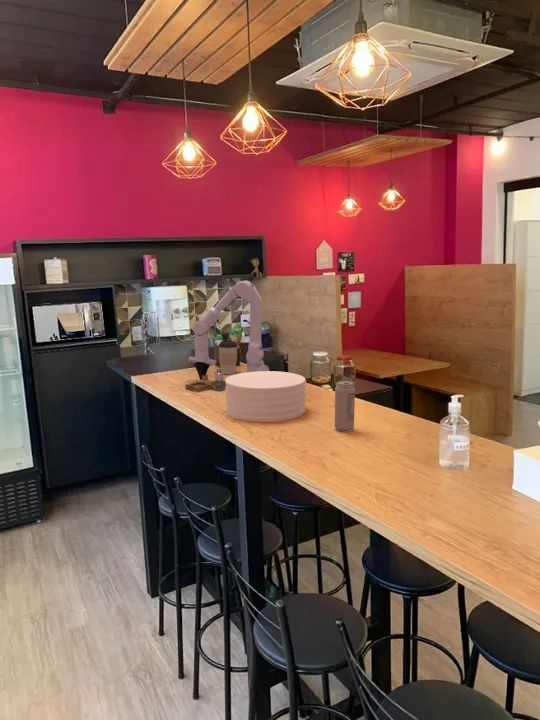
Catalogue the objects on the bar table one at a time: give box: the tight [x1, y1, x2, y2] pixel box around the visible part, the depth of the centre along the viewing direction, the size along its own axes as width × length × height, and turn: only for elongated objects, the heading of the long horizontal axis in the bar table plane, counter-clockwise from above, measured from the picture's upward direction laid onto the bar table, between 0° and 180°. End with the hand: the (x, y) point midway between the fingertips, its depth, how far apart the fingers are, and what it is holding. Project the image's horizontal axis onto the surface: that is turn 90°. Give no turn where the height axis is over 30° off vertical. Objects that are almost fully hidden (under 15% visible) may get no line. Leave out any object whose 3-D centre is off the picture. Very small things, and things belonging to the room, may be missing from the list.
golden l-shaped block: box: [201, 374, 215, 386], centre depth 238 cm, size 6×2×4 cm, turn 47°
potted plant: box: [213, 331, 241, 368], centre depth 277 cm, size 16×11×18 cm
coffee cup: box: [217, 340, 239, 375], centre depth 260 cm, size 9×9×15 cm
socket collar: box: [210, 380, 226, 392], centre depth 234 cm, size 12×12×1 cm
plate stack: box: [224, 370, 306, 423], centre depth 196 cm, size 28×28×12 cm
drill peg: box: [214, 368, 224, 387], centre depth 233 cm, size 3×3×8 cm
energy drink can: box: [334, 380, 356, 432], centre depth 173 cm, size 6×6×15 cm
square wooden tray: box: [184, 380, 214, 393], centre depth 229 cm, size 8×8×2 cm
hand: (202, 379), depth 241 cm, fingers closed
